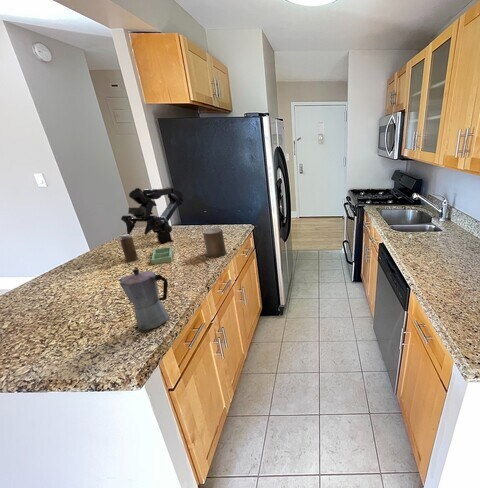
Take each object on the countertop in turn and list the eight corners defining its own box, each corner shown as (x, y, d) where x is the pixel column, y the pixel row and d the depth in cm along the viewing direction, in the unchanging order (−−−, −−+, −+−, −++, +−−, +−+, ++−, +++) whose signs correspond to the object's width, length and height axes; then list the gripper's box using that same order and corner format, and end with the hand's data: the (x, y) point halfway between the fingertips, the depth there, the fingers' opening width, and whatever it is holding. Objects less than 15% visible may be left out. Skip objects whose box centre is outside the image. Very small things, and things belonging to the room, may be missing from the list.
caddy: (155, 254, 142) (153, 249, 141) (172, 251, 146) (171, 246, 145) (152, 265, 129) (151, 260, 128) (171, 262, 133) (170, 256, 132)
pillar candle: (229, 253, 142) (225, 227, 137) (211, 259, 136) (207, 232, 130) (220, 249, 149) (216, 224, 143) (203, 254, 142) (198, 228, 136)
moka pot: (139, 314, 92) (123, 263, 85) (184, 312, 94) (172, 262, 86) (122, 332, 84) (103, 277, 76) (172, 329, 85) (157, 275, 77)
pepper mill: (139, 258, 137) (132, 233, 132) (136, 262, 133) (129, 236, 127) (128, 259, 136) (120, 234, 131) (124, 263, 131) (116, 237, 126)
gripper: (118, 200, 136) (107, 226, 130) (152, 200, 135) (143, 227, 129) (133, 211, 146) (123, 236, 140) (165, 211, 146) (157, 236, 139)
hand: (136, 234), depth 137 cm, fingers open, 9 cm apart
